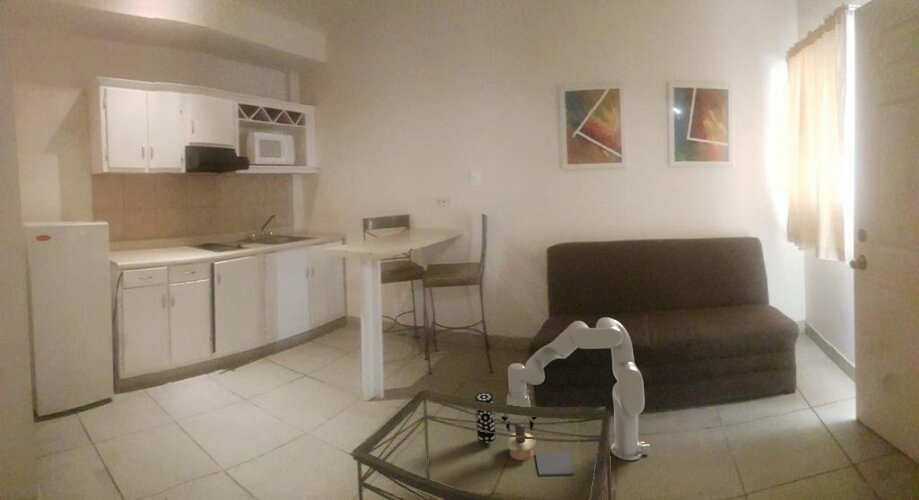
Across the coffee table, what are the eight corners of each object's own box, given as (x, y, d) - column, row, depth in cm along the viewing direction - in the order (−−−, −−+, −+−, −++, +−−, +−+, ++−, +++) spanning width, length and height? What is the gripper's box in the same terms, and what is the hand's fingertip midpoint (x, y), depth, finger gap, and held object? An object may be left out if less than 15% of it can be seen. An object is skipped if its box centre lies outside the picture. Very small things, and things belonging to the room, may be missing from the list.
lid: (533, 433, 201) (533, 417, 200) (537, 451, 188) (536, 433, 187) (505, 434, 202) (504, 418, 201) (506, 452, 189) (505, 434, 188)
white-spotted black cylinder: (496, 442, 201) (493, 400, 198) (477, 443, 201) (475, 401, 198) (495, 432, 209) (492, 392, 206) (477, 433, 209) (474, 393, 206)
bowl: (531, 446, 201) (530, 435, 200) (533, 459, 191) (533, 449, 190) (509, 446, 201) (508, 436, 200) (510, 460, 191) (509, 449, 191)
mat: (567, 453, 193) (567, 452, 193) (574, 474, 179) (574, 473, 179) (535, 454, 194) (535, 453, 194) (539, 475, 180) (539, 474, 180)
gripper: (537, 387, 195) (538, 424, 197) (497, 389, 196) (499, 425, 199) (539, 395, 187) (540, 433, 190) (498, 397, 189) (500, 434, 191)
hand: (519, 429), depth 194 cm, fingers open, 9 cm apart
